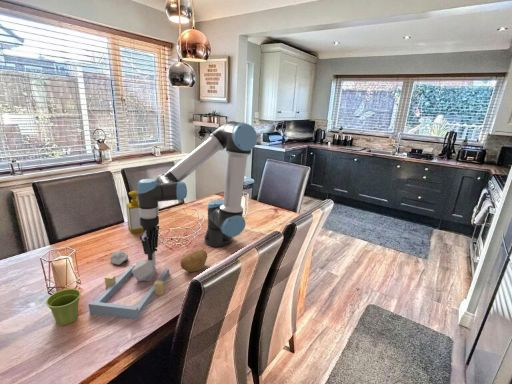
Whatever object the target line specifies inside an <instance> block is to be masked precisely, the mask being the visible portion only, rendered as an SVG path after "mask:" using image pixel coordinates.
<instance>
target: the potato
mask: <svg viewBox="0 0 512 384" xmlns="http://www.w3.org/2000/svg"><path fill="white" fill-rule="evenodd" d="M207 259H208V253H207V252H206V250H203V249H198V250H195V251H192V252H189V253H188V254H185V255H184V256H183V257H182V258H180V267H181V269H183V270H184V271H185V272H188V273H193V272H197V271H199V270H202V269H203V268H204V267H205V264H206V262H207Z"/></svg>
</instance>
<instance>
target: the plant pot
mask: <svg viewBox="0 0 512 384" xmlns="http://www.w3.org/2000/svg"><path fill="white" fill-rule="evenodd" d="M81 294H82V293H81V291H80V290H79V289H77V288H65V289H60V290H58V291H56V292H54V293H53V294H51V295H49V297H47V298H46V301H45V304H46V306H47V307H48V308H49V309H50V311H51V314H52V315H53V318H54V321H55V322H56V325H58V326H64V325H70V324H72V323H74V322H75V321H76V320H78V316H79V301H80V298H81V296H82V295H81Z"/></svg>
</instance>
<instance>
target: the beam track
mask: <svg viewBox="0 0 512 384" xmlns="http://www.w3.org/2000/svg"><path fill="white" fill-rule="evenodd" d="M135 265H136V264H131V265H130V266H129V267H128V268H126V270H125V271H124V272H123V273H122V274H121V275H120V276H119V277H118V278H116V275H113V274H112V275H111V274H107V275H106V276H105V277H104V283H105V289H106V290H105V291H104V292H103V293H101V295H100V296H99V297H98V298H97V299H96V300H95V301H93V300H91V301H90V302H89V303H88V309H89V314H91V315H96V316H98V315H99V316H106V317H113V318H122V319H127V320H128V319H130V320H138V319H139V317H140V315H141V314H142V313H143V311H144V310H145V309H146V307H147V305H148V304H149V303H150V302H151V300H152V299H153V298H154V296H155V295H156V296H163V294H164V293H165V283H164V282H165V280H166V279H167V278H168V277H169V275H170V269H169V268H165V269H164V270H163V272H162V273H161V274H160V275H159V277H158V278H157V279H156V280H155V281H154V282H153V285H152V286H151V287H150V289H148V291H147V292H146V294H145V295H144V296H143V297H142V299H141V300H140V301H139V303H138V305H137V306H133V305H125V304H118V303H110V302H107V301H108V300H109V299H110V298H111V297H112V296H113V295H114V294H115V293H116V292H117V290H118V289H119V288H120V287H121V286H122V285H123V284H124V283H126V281H127V280H128V279H129V278H130V277H131V275H133V273H132V272H131V271H132V270H133V268H134V267H135Z"/></svg>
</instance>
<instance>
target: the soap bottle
mask: <svg viewBox="0 0 512 384" xmlns="http://www.w3.org/2000/svg"><path fill="white" fill-rule="evenodd" d="M137 191H138V190H131V191H129V192H128V195H129V197H131V198H132V199H130V202H129V203H126V214H127V225H128V230H129V232H130V234H131V235H133V234H137V233H138V234H139V233H141V232H142V233H143V227H142V226H141V225H140V215H139V202H138V198H137V199H136V197H138V192H137Z"/></svg>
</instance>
